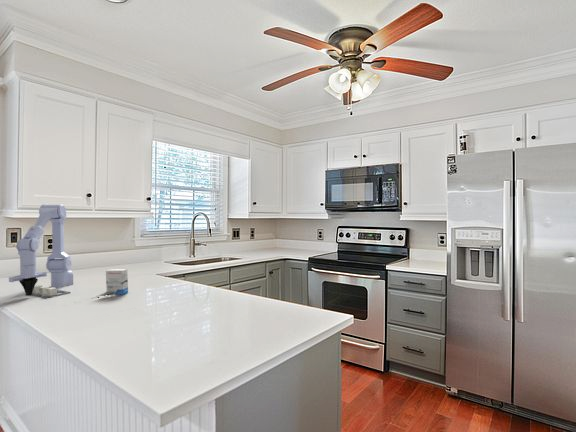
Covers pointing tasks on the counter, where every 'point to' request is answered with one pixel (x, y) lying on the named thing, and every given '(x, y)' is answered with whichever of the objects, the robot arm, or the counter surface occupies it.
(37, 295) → the grey divided tray
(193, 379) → the counter surface
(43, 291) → the cream rectangular block
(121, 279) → the ink box
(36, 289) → the off-white rectangular block
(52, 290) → the off-white rectangular block
